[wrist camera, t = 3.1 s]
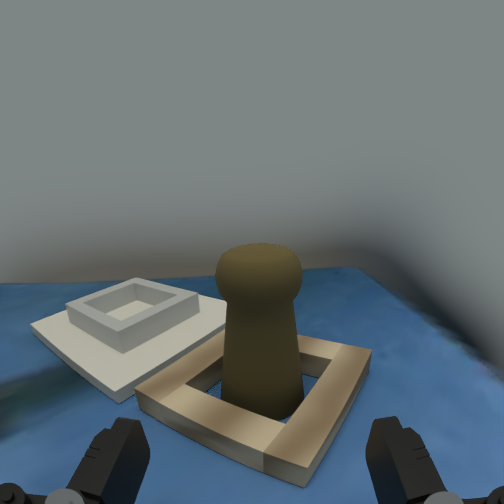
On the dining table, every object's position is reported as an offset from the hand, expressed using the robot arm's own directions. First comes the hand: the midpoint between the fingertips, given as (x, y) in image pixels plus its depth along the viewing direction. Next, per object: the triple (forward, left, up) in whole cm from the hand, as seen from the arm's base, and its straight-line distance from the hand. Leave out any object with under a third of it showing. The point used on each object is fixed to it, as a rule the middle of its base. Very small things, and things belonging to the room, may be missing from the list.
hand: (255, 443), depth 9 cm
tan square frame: (-5, +10, -7) cm, 13 cm away
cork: (-5, +10, -7) cm, 13 cm away
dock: (-22, +12, -7) cm, 26 cm away
